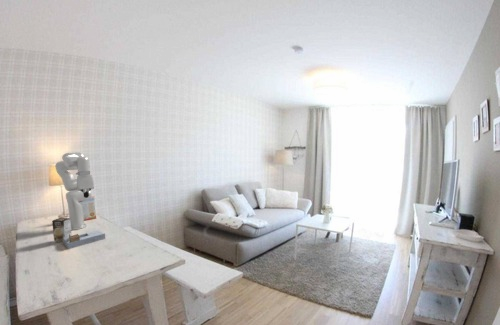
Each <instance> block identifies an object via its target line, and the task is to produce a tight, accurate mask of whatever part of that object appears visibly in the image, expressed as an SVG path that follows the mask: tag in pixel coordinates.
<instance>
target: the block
mask: <svg viewBox="0 0 500 325" xmlns="http://www.w3.org/2000/svg"><path fill="white" fill-rule="evenodd" d="M79 235H80V234H78V233H76V234H72V236H69V239H70V242H75V241H78V240H80V237H79Z"/></svg>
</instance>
